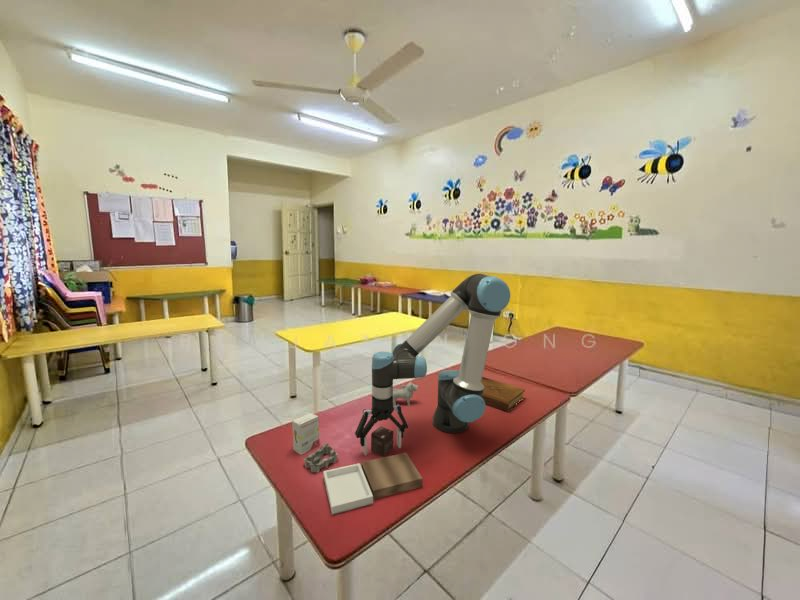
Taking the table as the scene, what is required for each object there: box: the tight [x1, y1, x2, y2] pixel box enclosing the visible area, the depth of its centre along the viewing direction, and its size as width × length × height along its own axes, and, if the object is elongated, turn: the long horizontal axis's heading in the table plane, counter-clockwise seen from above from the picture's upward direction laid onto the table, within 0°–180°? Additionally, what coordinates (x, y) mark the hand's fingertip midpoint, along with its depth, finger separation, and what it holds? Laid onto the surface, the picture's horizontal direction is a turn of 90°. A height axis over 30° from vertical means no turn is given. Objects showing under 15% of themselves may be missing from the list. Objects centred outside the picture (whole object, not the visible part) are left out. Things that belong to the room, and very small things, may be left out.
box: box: [370, 425, 394, 458], centre depth 125 cm, size 6×6×7 cm
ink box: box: [291, 412, 321, 456], centre depth 126 cm, size 9×5×12 cm, turn 140°
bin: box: [323, 462, 374, 516], centre depth 105 cm, size 12×16×2 cm
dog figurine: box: [392, 380, 419, 407], centre depth 161 cm, size 5×13×11 cm, turn 96°
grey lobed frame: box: [303, 443, 339, 473], centre depth 118 cm, size 11×8×4 cm
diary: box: [481, 376, 526, 413], centre depth 168 cm, size 23×19×6 cm
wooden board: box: [361, 452, 423, 501], centre depth 110 cm, size 16×14×3 cm
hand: (382, 449), depth 126 cm, fingers open, 12 cm apart
